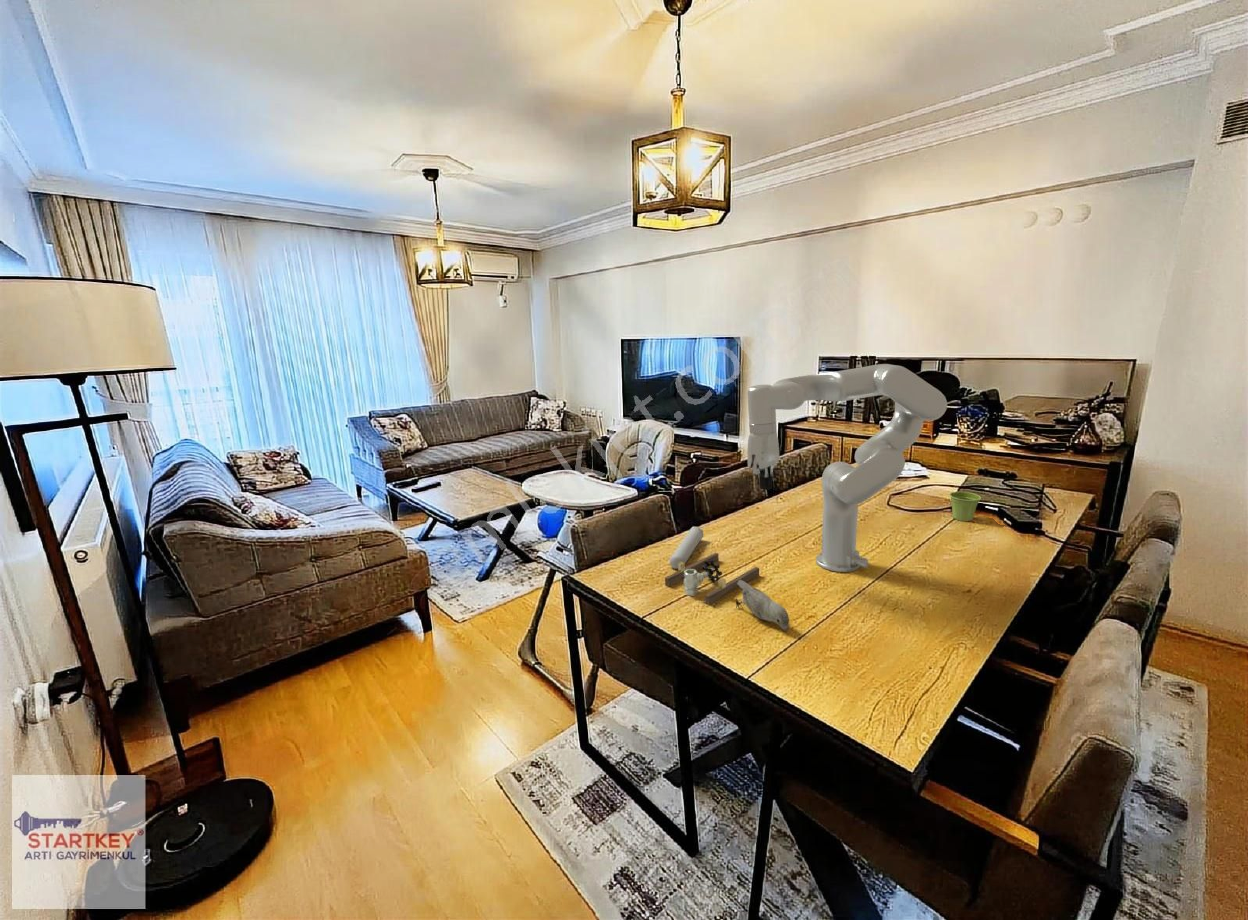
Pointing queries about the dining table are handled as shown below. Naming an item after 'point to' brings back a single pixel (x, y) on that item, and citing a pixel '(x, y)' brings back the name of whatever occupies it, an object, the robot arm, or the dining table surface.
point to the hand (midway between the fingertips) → (766, 488)
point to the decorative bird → (763, 606)
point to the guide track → (723, 586)
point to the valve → (699, 577)
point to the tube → (686, 547)
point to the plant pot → (964, 505)
